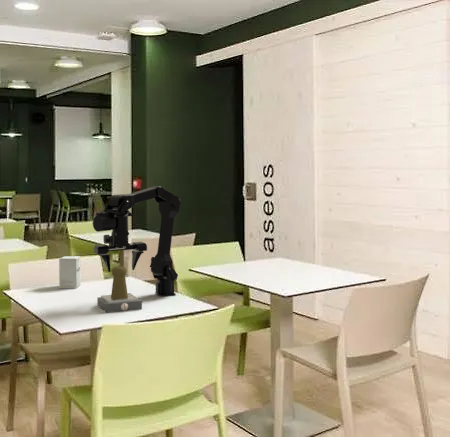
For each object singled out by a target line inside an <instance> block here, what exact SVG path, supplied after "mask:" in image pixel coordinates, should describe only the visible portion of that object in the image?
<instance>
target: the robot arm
mask: <svg viewBox="0 0 450 437" xmlns="http://www.w3.org/2000/svg"><path fill="white" fill-rule="evenodd" d="M152 199H153V200H154V202H155V203H156V204H158V212H159V213H160V216H161V218H160V227H159V228H160V229H159V234H158V236H159V237H158V243H157V244H158V245H157V251H156V254H155V255H154V256H152V257H151V258H150V265H149V268H150V272H151V273H152V275H153V279H156V282H155V294H156V295H158V296H160V297H165V296H166V297H168V296H176V293H175V281H176V280H178V277H179V274H178V273H177V272H176V271H175V269H174V266H173V265H174V264H173V263H174V261H173V259H172V257H171V247H172V240H173V239H172V237H173V230H174V223H175V222H174V221H175V218H176V216H177V215H178V214H179V212H180V208H181V199H180V198H179V197H178V196H177V195H174V193H171V192H170V191H168V190H166V189H165V188H164V187H162V186H161V185H159V186H158V185H157V186H156V185H152V186H150V187H148V188H144V189H141V190H138V191H134V192H131V193H127V194H126V193H124V194H121V193H119V194H112V195H111V196H110V197H109V200H108V203H107V204H106V206H105V208H104V210H103V212H101V211H100V212H96V214H95V216H94V218H93V221H92V227H93V229H94V231H95V232H98V233H99V232H107V231H108V232H109V231H111V235H110V234H104V235H103V244H95V245H94V247H93V253H94V254H96V255H98V256H99V257H101V258H102V260H103V262H104V264H105V267H106V270H107V272H108V273H111V258H110V254H109V252H118V251H130V250H131V257H132V258H131V270H132V271H135V269H136V267H137V263H138V262H139V259H140V258H141V255H143V254H144V253H145V251H146V252H147V251H148V245H147V243H145V242H143V241H136V242H134V241H133V242H132V244H130V243H129V236H130V231H129V218H128V217H133V213H131V212H130V209H132V208H133V207H134V206H135V205H137V204H139V203H143V202H146V201H148V200H152Z"/></svg>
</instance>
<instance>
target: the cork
mask: <svg viewBox="0 0 450 437" xmlns="http://www.w3.org/2000/svg"><path fill="white" fill-rule="evenodd" d="M111 275H112V276H113V278H112V279H113V280H112V286H111V294H110V295H111V298H114V299H122V298H127V297H128V294H127V293H128V287H127V281H126V279H127V278H126V275H127V268H126V267H125V266H115V267H112V269H111Z"/></svg>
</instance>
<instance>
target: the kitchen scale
mask: <svg viewBox="0 0 450 437" xmlns="http://www.w3.org/2000/svg"><path fill="white" fill-rule="evenodd" d="M127 294H128V297H127V298H122V299H114V298H111V294H105V295H103V294H102V295H100V296H99V297H97V307H98V308H100V309H101V310H102V311H104V313H117V312H128V311H136V310H142V309H143V300H141V299H139V298H138V297H137V296H135V295H134V294H132V293H131V292H130V293H128V292H127Z"/></svg>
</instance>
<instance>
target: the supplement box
mask: <svg viewBox="0 0 450 437" xmlns="http://www.w3.org/2000/svg"><path fill="white" fill-rule="evenodd" d="M58 260H59V261H58V266H59V267H58V268H59V269H58V271H59V272H58V273H59V277H58V280H59V283H58V284H59V289H73V288H76V289H77V288H79V287H80V286H81V256H80V255H79V256H75V255H73V256H71V255H70V256H69V255H67V256H62V257H60V258H59V259H58Z"/></svg>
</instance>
